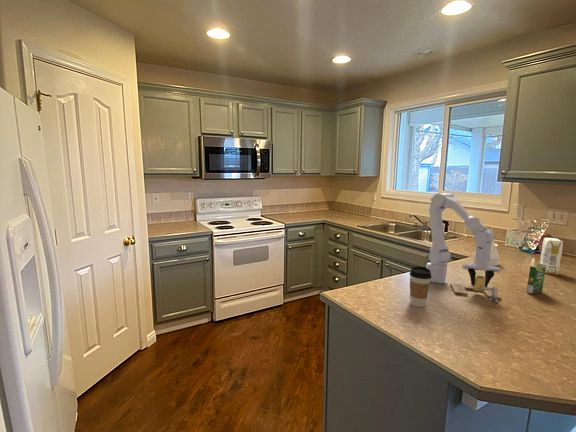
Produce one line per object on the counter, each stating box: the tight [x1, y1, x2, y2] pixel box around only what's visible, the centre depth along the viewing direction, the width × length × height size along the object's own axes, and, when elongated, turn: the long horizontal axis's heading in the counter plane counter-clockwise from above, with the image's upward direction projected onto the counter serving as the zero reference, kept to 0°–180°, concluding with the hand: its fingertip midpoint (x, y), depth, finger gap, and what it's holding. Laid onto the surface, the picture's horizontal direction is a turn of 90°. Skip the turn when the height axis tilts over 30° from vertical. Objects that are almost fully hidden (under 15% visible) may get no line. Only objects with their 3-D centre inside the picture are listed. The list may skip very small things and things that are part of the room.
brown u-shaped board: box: [450, 282, 502, 301], centre depth 146 cm, size 18×12×1 cm, turn 73°
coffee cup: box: [409, 266, 432, 308], centre depth 131 cm, size 8×8×15 cm
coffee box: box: [526, 263, 546, 295], centre depth 146 cm, size 8×3×13 cm, turn 115°
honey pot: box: [473, 239, 500, 267], centre depth 193 cm, size 13×13×18 cm
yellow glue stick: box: [473, 274, 486, 293], centre depth 143 cm, size 4×4×6 cm
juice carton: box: [539, 237, 564, 276], centre depth 177 cm, size 8×9×19 cm
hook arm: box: [481, 286, 500, 304], centre depth 137 cm, size 7×3×6 cm, turn 73°
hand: (478, 285), depth 143 cm, fingers closed on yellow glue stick, 4 cm apart
